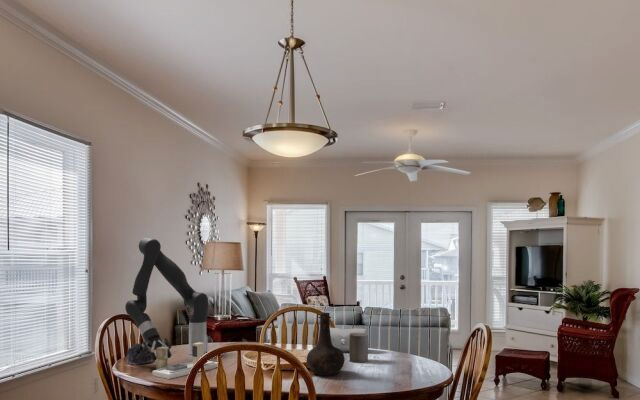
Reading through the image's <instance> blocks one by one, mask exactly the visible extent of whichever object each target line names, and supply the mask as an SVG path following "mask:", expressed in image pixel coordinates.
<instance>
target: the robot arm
mask: <svg viewBox="0 0 640 400" xmlns="http://www.w3.org/2000/svg"><path fill="white" fill-rule="evenodd" d="M161 247H162V246H161V243H160V241H159V240H158V239H155V238H153V237H143V238H142V239H140V240H139V242H138V250H139V251H140V253H141V254H142V255H143V260H142V265H141V267H140V268H139V271H138V272H137V275H136V277H135V279H134V282H133V287H132V294H133V295H134V296H136V299H130V300H128V301H127V302H126V303H125V306H124V307H125V312H126V314H127V315H128V316H129V317H130V318H131V319H132V321H133V322H135V324H136V327H137V328H138V330H139V333H140V335H141V337H142V339H143V342H142V344H141V346H142V348H143V351H144V353H145V355H147V354H149V355H150V356H151V358H152V360H153V361H152V362H156V359H157V357H156V352H155V351H156V348H159V347H167V349H168V359H170V358H171V357H172V353H171V349H172V345H171V343H170V342H169V340H168V339H167V338H166V337H164V339H161V336H160V333H159V331H158V329H157V328H156V326H155V324H154V322H153V321H152V319H151V318H150V316H149V314H148V313H146V311H147V305H148V303H147V300H148V299H147V292H148V287H149V284H150V279H151V276H152V272H153V269H154V267H155V268H156V269H157V271H158V272H159V273H160V274H161V275H162V277H163V278H164V279H165V280H166V281H167V282H168V284H169V285H171V286H172V287H173V289H174V290H175V291H176V292H178V294H179V296H181V298H182V299H183V300H184V302H185V303H186V305H187V306H188V307H189V308H191V309H193V313H192V315H191V316H189V318H188V319H189V320H188V322H189V323H188V324H189V325H188V354H189V355H191V356H192V346H193V343H198V342H200V343H204V355H206V354H207V353H208V345H209V343H208V339H209V337H208V334H207V318H208V315H209V298H208V295H207V294H206V293H204V292H198V291H196V290H195V289H193V287H192V286H191V285H190V284H189V283H188V280H187V277H186V274H185V273H184V271H183V270H182V268H180V266H178V264H176V262H174V261H173V260H172V259H171V258H169V257H168V256H167V255H165V254H164V253H163V251H161V249H162V248H161ZM148 348H150V349H148ZM206 352H207V353H206Z"/></svg>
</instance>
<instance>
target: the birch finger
mask: <svg viewBox="0 0 640 400" xmlns="http://www.w3.org/2000/svg"><path fill="white" fill-rule="evenodd" d="M155 355H156V357H157V359H156V361H155V370H157V369H160V368H165V367H166V366H168V359H169V358H168V349H167V347H163V346H161V347H159V348H156V350H155Z"/></svg>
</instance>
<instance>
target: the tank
mask: <svg viewBox="0 0 640 400" xmlns="http://www.w3.org/2000/svg"><path fill="white" fill-rule="evenodd" d="M358 331H359V333H366V334H368V335H369V331H368V329H367V328H360V327H359V328H358V327H357V328H355V327H354V328H346V329H344V328H339V327H330V335H331V342H332V345H333V346H334V347H336V348H338V349H340V350H341V351H342V353H349V337H350V333H356V332H358ZM343 342H344V343H343ZM368 349H369V345H368Z"/></svg>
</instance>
